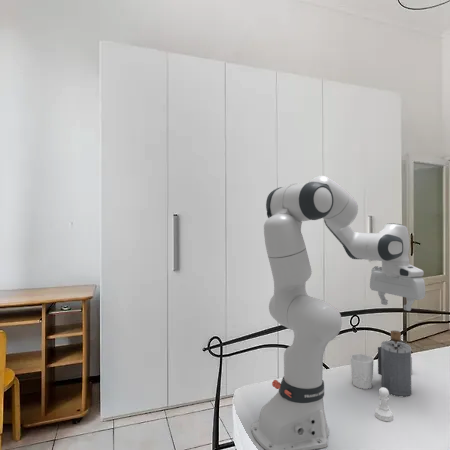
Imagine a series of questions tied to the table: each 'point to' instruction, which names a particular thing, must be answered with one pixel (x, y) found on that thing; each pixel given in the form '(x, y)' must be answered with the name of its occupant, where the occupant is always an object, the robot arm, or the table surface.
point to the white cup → (362, 370)
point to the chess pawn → (384, 406)
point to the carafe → (395, 368)
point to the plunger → (395, 337)
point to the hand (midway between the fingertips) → (395, 307)
